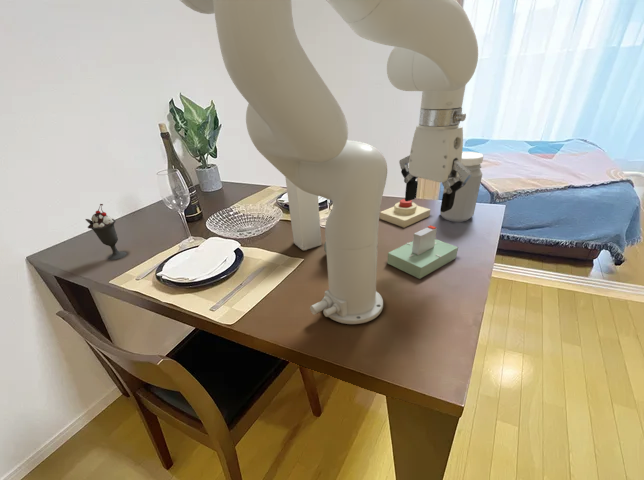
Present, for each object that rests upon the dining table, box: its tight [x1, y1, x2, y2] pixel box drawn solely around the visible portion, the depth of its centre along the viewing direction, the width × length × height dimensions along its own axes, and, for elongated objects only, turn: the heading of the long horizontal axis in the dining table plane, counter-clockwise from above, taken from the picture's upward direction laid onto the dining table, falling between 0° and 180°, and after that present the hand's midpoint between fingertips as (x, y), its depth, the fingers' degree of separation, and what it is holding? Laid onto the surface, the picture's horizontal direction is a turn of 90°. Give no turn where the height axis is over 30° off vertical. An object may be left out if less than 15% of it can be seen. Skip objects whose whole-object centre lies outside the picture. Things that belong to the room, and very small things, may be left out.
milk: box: [284, 176, 322, 252], centre depth 87 cm, size 6×6×22 cm
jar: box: [439, 151, 484, 223], centre depth 97 cm, size 10×10×18 cm
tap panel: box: [386, 238, 459, 280], centre depth 81 cm, size 14×10×3 cm
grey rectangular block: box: [412, 224, 438, 255], centre depth 79 cm, size 6×2×5 cm, turn 127°
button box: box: [379, 201, 431, 228], centre depth 103 cm, size 12×10×4 cm
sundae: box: [85, 203, 128, 261], centre depth 91 cm, size 7×7×15 cm
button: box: [399, 198, 413, 208], centre depth 102 cm, size 4×4×2 cm
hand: (427, 204), depth 74 cm, fingers open, 9 cm apart
